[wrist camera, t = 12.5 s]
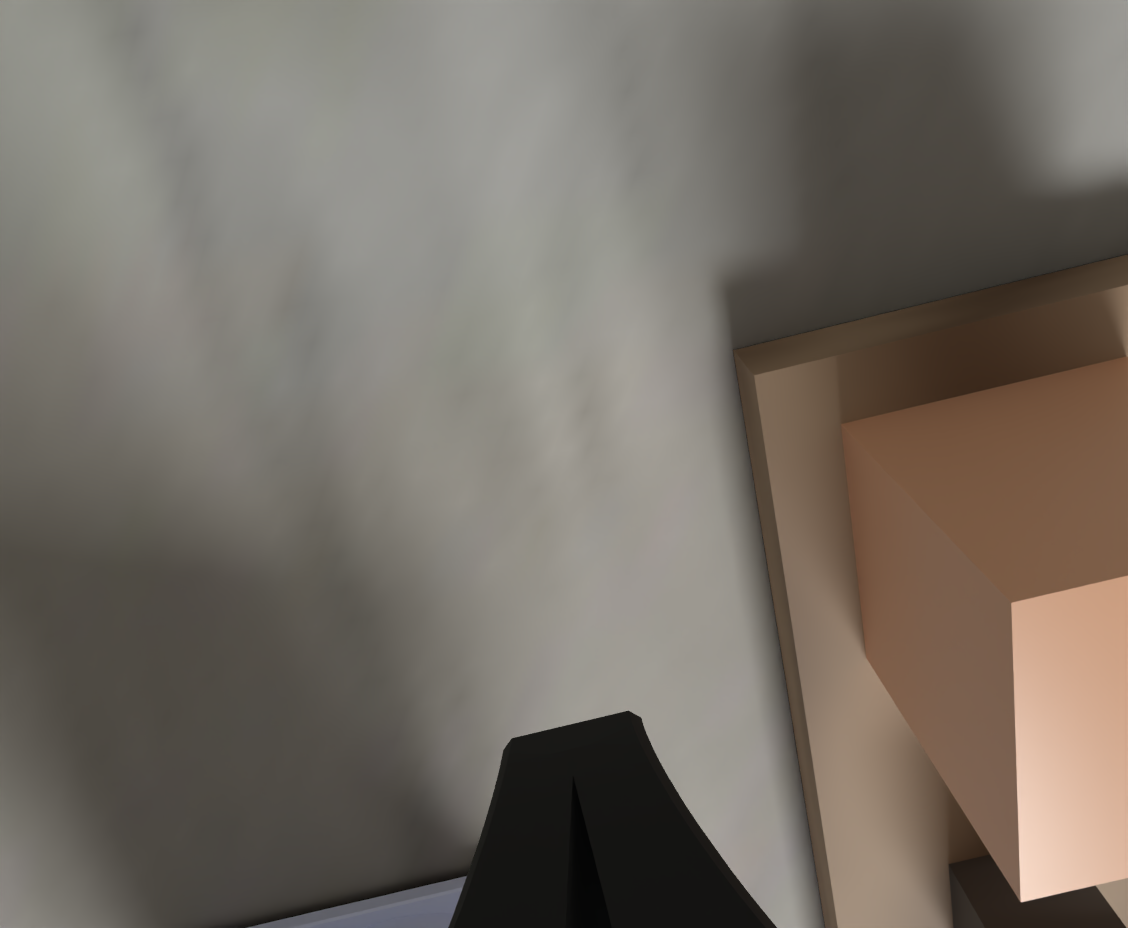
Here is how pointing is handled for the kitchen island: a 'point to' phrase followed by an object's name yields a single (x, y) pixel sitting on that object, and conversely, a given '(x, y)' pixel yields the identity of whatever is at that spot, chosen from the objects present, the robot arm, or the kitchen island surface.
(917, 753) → the stand
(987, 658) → the peach cube
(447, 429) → the kitchen island surface
